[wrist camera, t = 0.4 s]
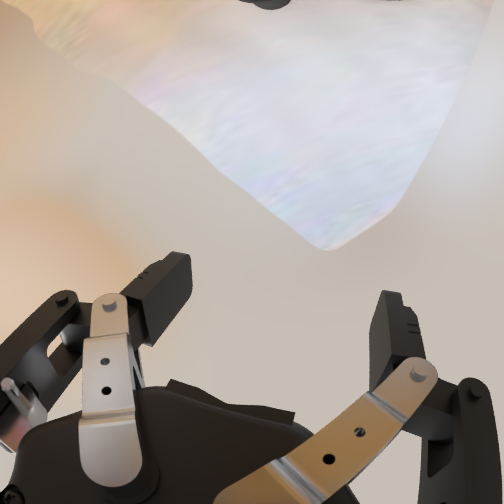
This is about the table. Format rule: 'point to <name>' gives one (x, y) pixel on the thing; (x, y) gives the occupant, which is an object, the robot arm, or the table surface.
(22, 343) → the robot arm
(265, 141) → the table surface
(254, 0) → the sundae
